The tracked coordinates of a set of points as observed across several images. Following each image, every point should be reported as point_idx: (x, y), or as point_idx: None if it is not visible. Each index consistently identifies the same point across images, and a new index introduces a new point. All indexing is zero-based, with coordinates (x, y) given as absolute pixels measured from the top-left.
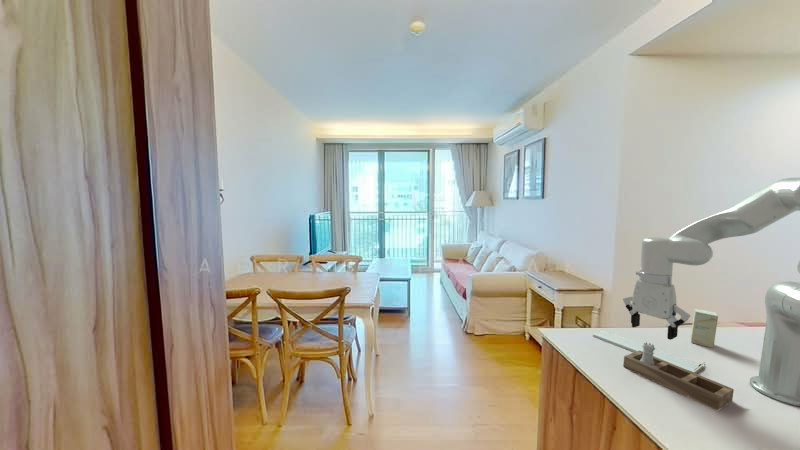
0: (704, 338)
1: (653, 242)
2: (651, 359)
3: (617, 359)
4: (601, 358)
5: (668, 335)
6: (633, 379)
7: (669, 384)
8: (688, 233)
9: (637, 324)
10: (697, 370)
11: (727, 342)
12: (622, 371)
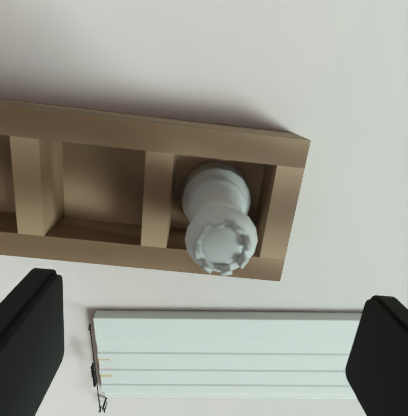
0: None
1: None
2: (196, 205)
3: (334, 182)
4: (394, 121)
5: (31, 286)
6: (215, 40)
7: (88, 110)
8: None
9: (363, 358)
10: (97, 345)
11: None
12: (278, 76)
